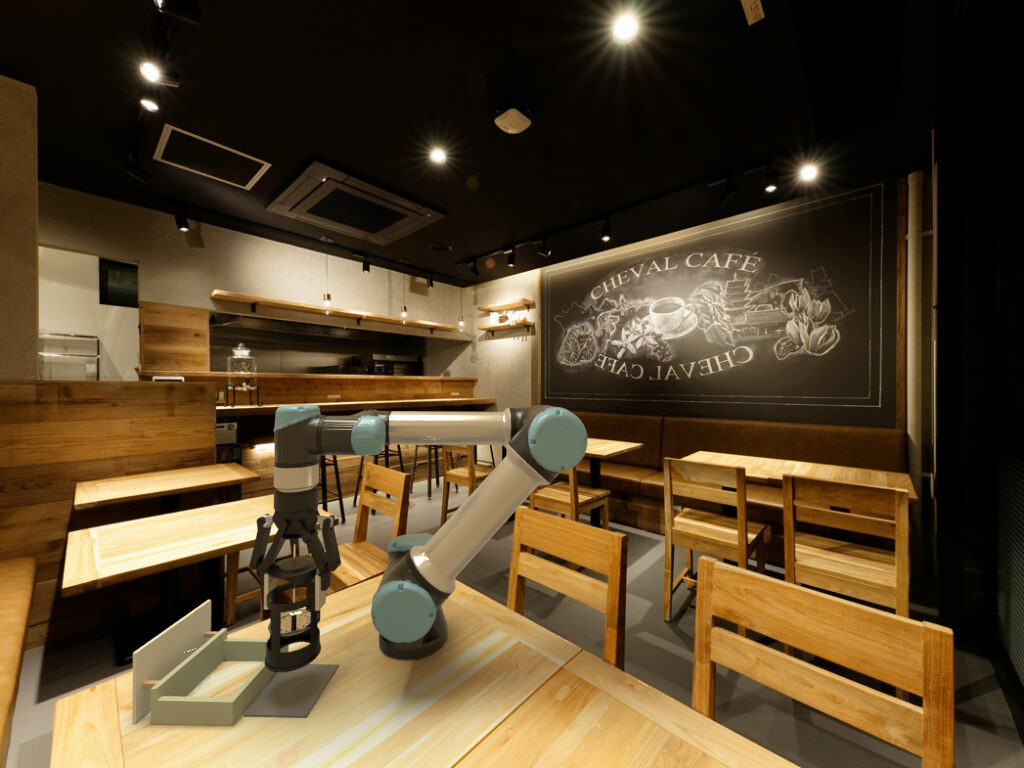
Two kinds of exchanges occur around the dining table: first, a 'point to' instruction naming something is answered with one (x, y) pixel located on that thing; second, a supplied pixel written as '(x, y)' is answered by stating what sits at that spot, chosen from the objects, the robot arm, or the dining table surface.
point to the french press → (292, 614)
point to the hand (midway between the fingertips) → (295, 606)
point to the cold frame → (193, 673)
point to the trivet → (292, 692)
